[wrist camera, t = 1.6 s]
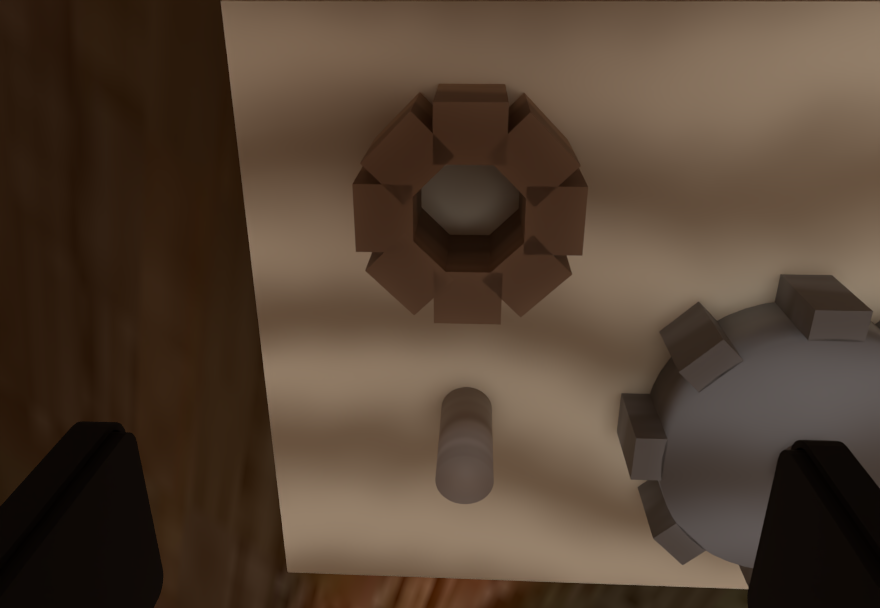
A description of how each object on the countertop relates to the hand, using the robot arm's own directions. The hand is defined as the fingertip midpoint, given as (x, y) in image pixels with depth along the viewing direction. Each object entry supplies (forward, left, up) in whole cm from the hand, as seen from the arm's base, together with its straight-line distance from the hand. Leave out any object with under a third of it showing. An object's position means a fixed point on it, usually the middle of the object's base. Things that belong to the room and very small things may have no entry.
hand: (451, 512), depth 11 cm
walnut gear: (0, 0, -16) cm, 16 cm away
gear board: (+6, +7, -17) cm, 19 cm away
